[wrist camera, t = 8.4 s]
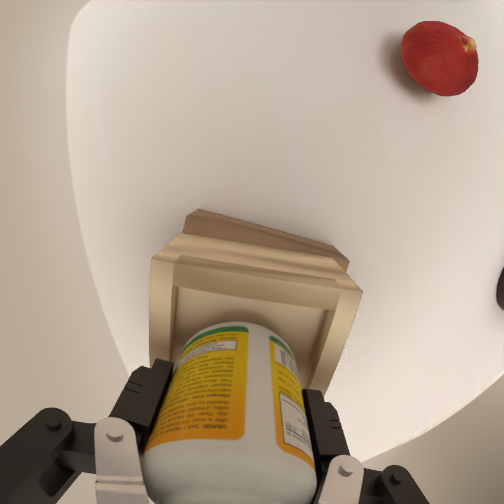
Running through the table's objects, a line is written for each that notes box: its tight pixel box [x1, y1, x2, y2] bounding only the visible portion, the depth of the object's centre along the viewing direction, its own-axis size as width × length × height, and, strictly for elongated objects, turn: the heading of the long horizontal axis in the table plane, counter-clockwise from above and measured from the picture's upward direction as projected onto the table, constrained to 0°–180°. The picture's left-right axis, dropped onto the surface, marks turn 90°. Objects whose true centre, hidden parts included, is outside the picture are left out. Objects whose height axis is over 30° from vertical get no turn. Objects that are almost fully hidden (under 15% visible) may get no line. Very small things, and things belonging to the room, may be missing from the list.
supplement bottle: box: [140, 321, 317, 504], centre depth 8 cm, size 5×5×10 cm
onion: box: [401, 21, 478, 96], centre depth 12 cm, size 6×6×8 cm
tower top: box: [149, 233, 363, 398], centre depth 15 cm, size 9×9×5 cm
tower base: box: [183, 209, 349, 272], centre depth 19 cm, size 10×10×4 cm
